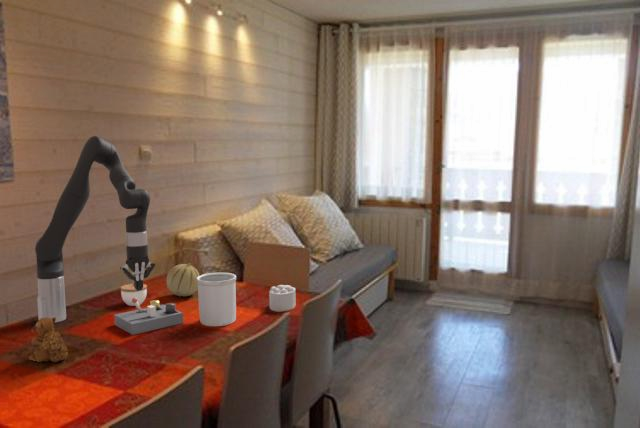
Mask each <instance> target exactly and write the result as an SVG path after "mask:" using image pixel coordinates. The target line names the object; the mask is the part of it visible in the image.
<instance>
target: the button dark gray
mask: <svg viewBox="0 0 640 428" xmlns="http://www.w3.org/2000/svg"><path fill="white" fill-rule="evenodd" d="M164 305H165V306H166V313H174V312H175V310H176V303H175V302H168V303H165V304H164Z"/></svg>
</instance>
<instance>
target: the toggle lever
mask: <svg viewBox="0 0 640 428" xmlns="http://www.w3.org/2000/svg"><path fill="white" fill-rule="evenodd" d="M132 302H133V303H134V304H135V305H136V306H135V307H136V310H138V311H141V309H142V308H141V305H139V304H138V302H137V298H133V299H132Z"/></svg>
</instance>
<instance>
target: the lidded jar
mask: <svg viewBox="0 0 640 428" xmlns="http://www.w3.org/2000/svg"><path fill="white" fill-rule="evenodd" d="M147 293H148V285H147V284H146V283H143V288H142V290H139V291H137V290H136V289H135V288H134V281H132V283H129V284H124V285H122V286H120V294H121V299H122V301H123V302H124V303H125V304H126V305H127V306H129V307H136V305H135V304H134V303H133V302H132V299H133V298H137V302H138V304H139V306H141V305H142V304H143V302H145V300H146V298H147Z"/></svg>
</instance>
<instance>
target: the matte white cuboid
mask: <svg viewBox="0 0 640 428" xmlns="http://www.w3.org/2000/svg"><path fill="white" fill-rule="evenodd" d="M146 308H147V315H148V316H150V317H154V316H156V307H155V306H153V305H151V306H150V305H147V307H146Z"/></svg>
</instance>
